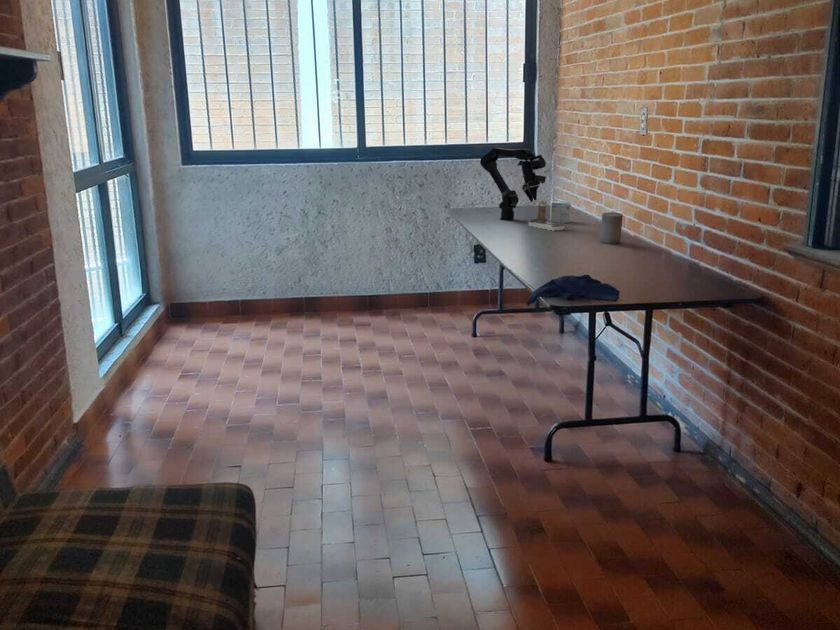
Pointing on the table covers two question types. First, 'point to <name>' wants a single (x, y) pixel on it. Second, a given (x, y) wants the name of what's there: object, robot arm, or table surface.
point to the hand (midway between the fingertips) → (533, 201)
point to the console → (547, 225)
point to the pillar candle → (611, 228)
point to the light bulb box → (560, 211)
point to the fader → (541, 212)
